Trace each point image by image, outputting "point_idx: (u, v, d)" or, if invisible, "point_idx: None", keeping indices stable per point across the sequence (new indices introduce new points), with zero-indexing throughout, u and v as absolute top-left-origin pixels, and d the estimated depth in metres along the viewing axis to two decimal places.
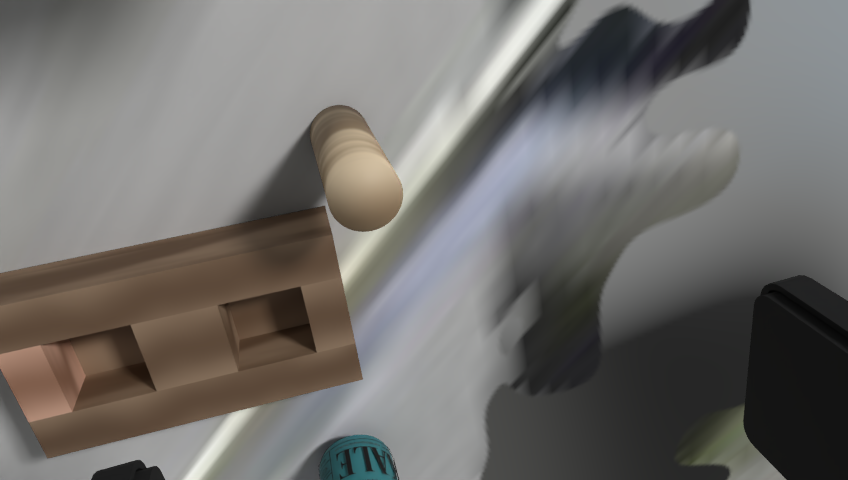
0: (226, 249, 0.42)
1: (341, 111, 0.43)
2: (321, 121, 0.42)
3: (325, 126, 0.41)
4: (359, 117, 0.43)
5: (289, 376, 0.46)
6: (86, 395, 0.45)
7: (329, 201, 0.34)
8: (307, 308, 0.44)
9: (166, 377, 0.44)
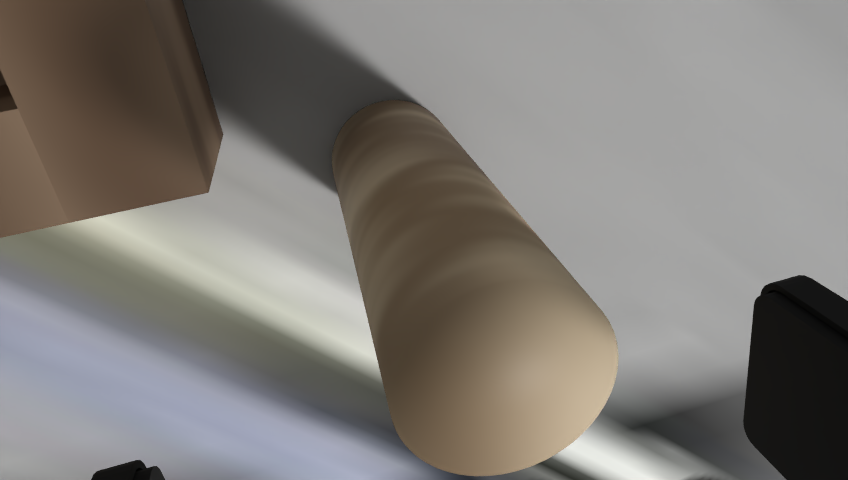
0: None
1: None
2: (451, 135, 0.19)
3: None
4: None
5: None
6: None
7: (505, 286, 0.10)
8: None
9: None
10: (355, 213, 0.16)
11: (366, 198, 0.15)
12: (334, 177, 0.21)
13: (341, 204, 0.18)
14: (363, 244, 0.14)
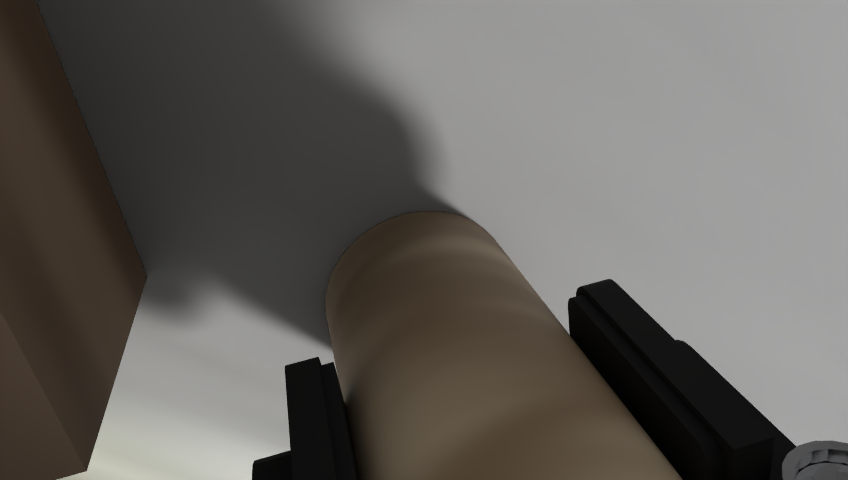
0: None
1: None
2: (525, 280, 0.12)
3: (566, 331, 0.10)
4: None
5: None
6: None
7: None
8: None
9: None
10: None
11: None
12: (330, 337, 0.13)
13: None
14: None
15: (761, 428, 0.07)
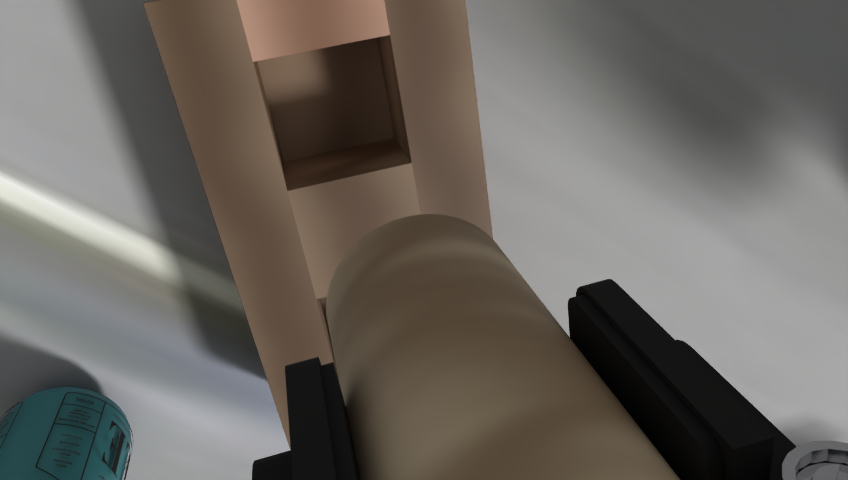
0: None
1: None
2: (526, 283, 0.12)
3: (567, 335, 0.10)
4: None
5: None
6: (256, 69, 0.27)
7: None
8: None
9: (313, 205, 0.28)
10: None
11: None
12: None
13: None
14: None
15: (761, 428, 0.07)
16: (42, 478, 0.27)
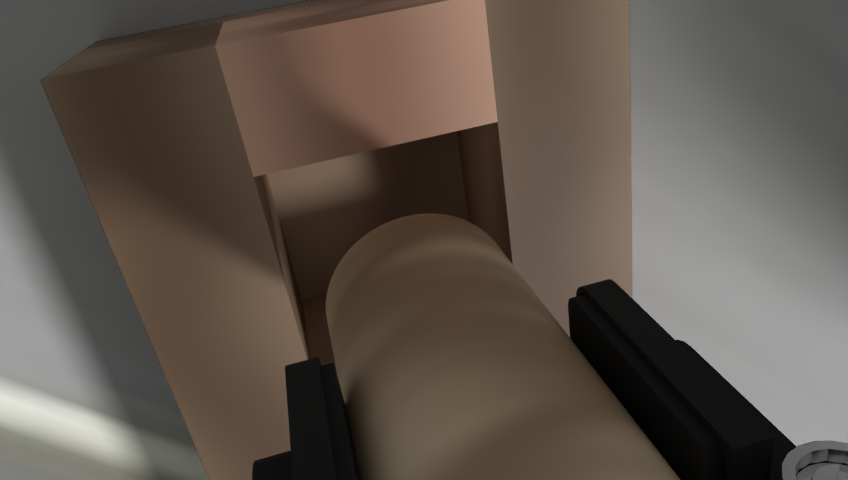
0: None
1: None
2: (526, 283, 0.12)
3: (567, 335, 0.10)
4: None
5: None
6: (260, 178, 0.15)
7: None
8: None
9: None
10: None
11: None
12: None
13: None
14: None
15: (761, 428, 0.07)
16: None
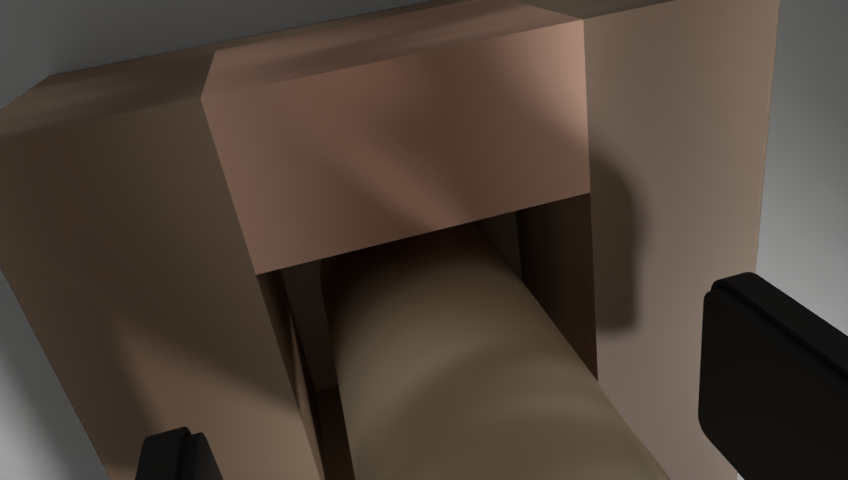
0: None
1: None
2: (499, 252, 0.13)
3: (532, 295, 0.12)
4: None
5: None
6: None
7: None
8: None
9: None
10: (363, 434, 0.09)
11: (382, 415, 0.09)
12: None
13: (336, 371, 0.12)
14: None
15: None
16: None
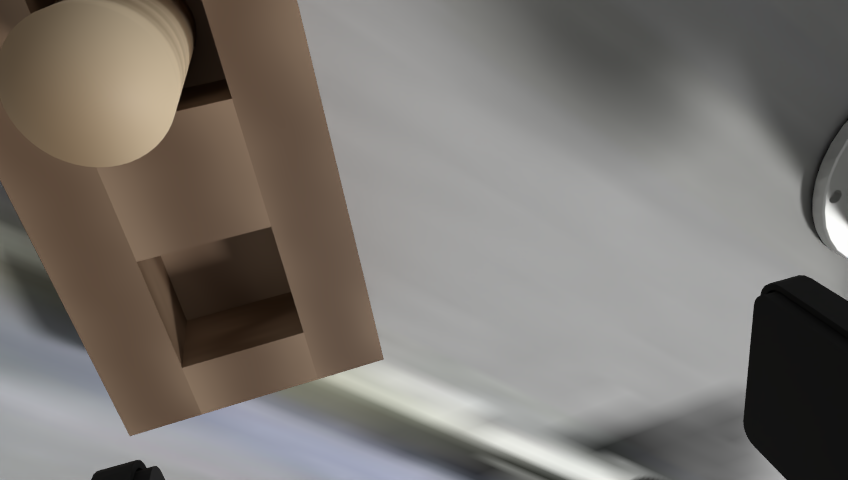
0: None
1: (194, 31, 0.25)
2: None
3: (173, 2, 0.23)
4: None
5: (130, 336, 0.28)
6: None
7: (65, 7, 0.15)
8: (265, 345, 0.30)
9: None
10: None
11: None
12: None
13: None
14: None
15: None
16: None
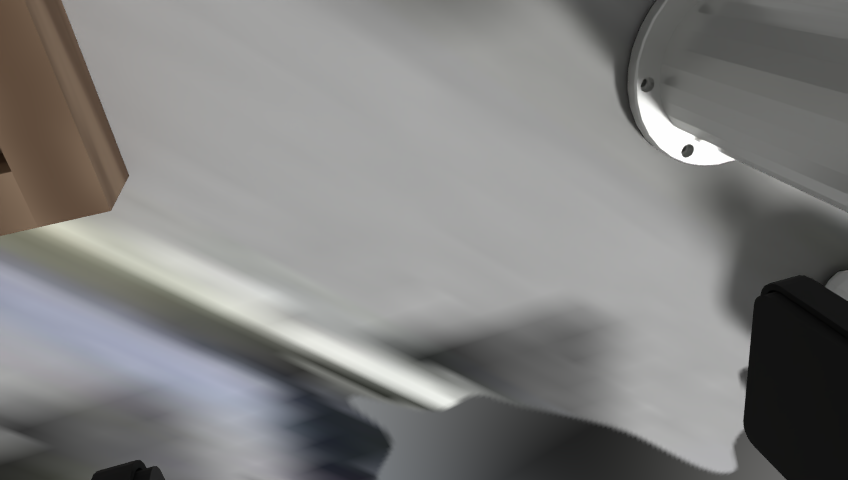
0: (57, 58, 0.28)
1: None
2: None
3: None
4: None
5: None
6: None
7: None
8: None
9: None
10: None
11: None
12: None
13: None
14: None
15: None
16: None
